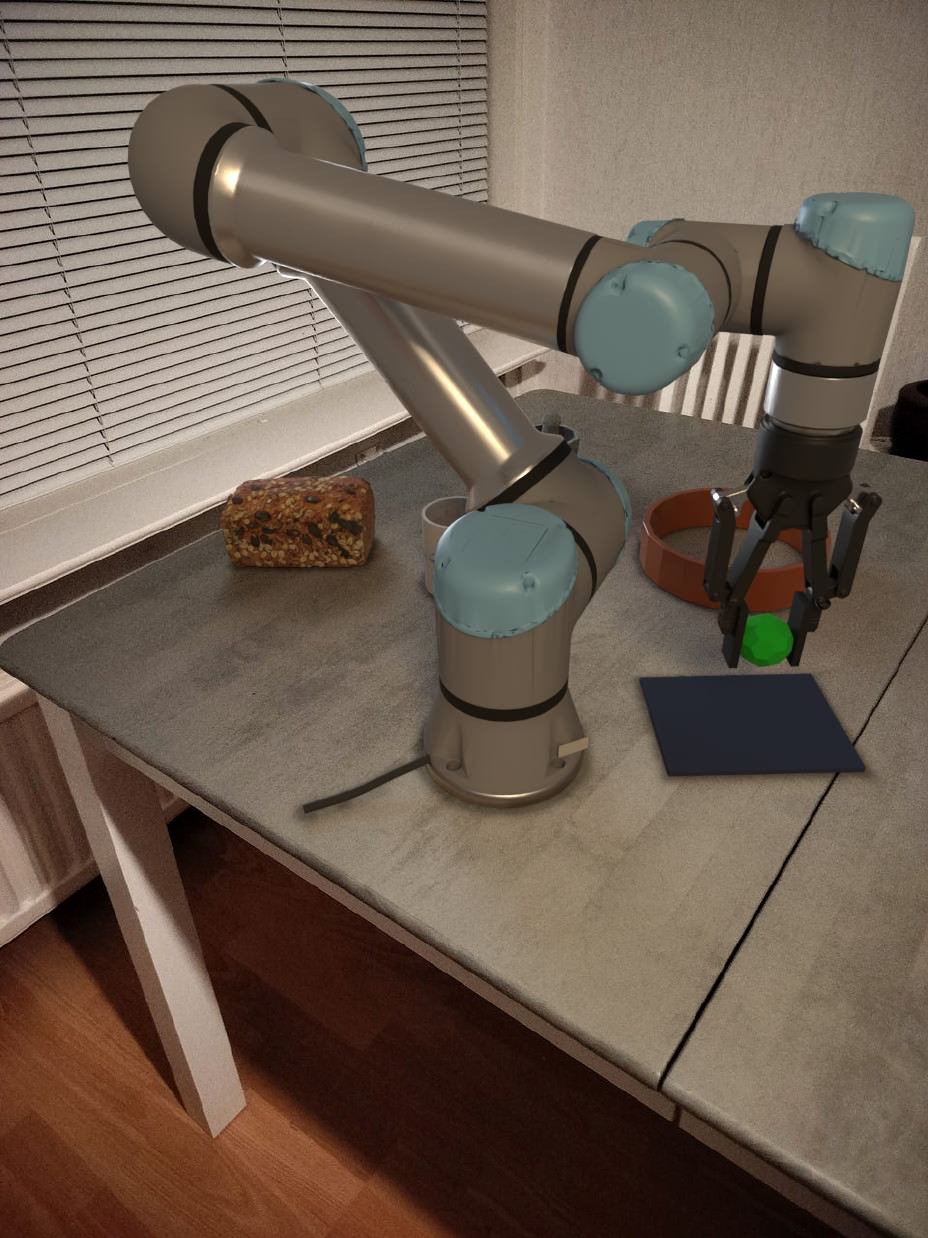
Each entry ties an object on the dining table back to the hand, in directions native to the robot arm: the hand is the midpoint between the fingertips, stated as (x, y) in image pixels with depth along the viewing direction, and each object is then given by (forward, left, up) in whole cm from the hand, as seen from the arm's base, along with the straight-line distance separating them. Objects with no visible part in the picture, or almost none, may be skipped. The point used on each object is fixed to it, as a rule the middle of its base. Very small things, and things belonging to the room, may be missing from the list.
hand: (759, 658), depth 77 cm
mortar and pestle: (-14, +59, -8) cm, 61 cm away
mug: (-28, +26, -8) cm, 39 cm away
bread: (-49, +37, -8) cm, 62 cm away
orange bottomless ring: (+7, +31, -8) cm, 33 cm away
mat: (0, 0, -8) cm, 8 cm away
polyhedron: (0, 0, 0) cm, 0 cm away
